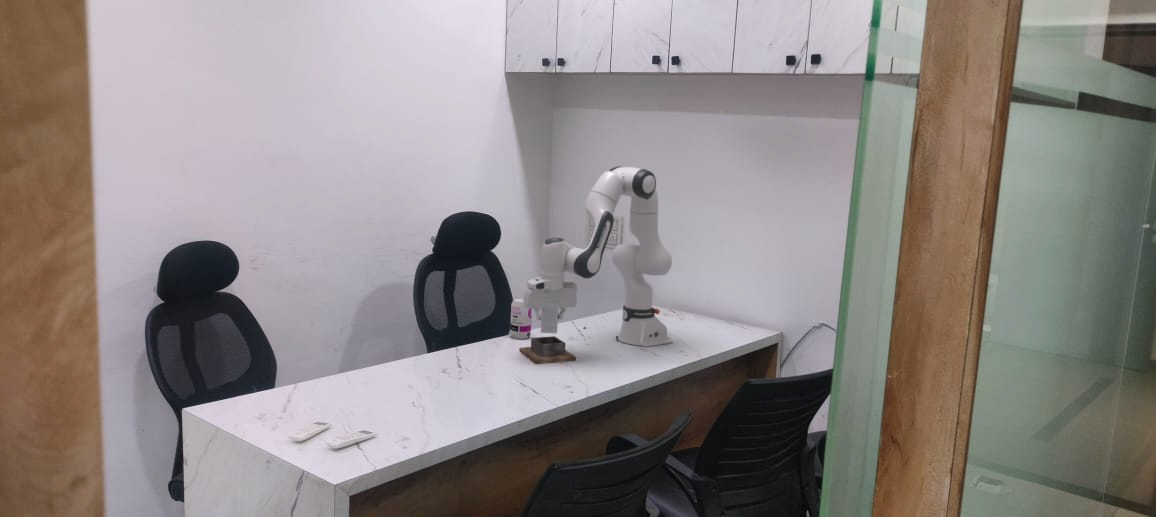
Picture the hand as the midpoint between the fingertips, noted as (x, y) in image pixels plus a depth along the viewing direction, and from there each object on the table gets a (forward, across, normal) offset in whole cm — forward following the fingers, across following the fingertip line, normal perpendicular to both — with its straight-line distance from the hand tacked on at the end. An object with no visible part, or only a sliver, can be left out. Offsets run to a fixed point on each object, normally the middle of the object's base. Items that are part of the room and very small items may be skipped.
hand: (549, 319), depth 291 cm
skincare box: (+5, 0, 0) cm, 5 cm away
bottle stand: (+14, 0, 0) cm, 14 cm away
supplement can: (+14, 0, -27) cm, 31 cm away
